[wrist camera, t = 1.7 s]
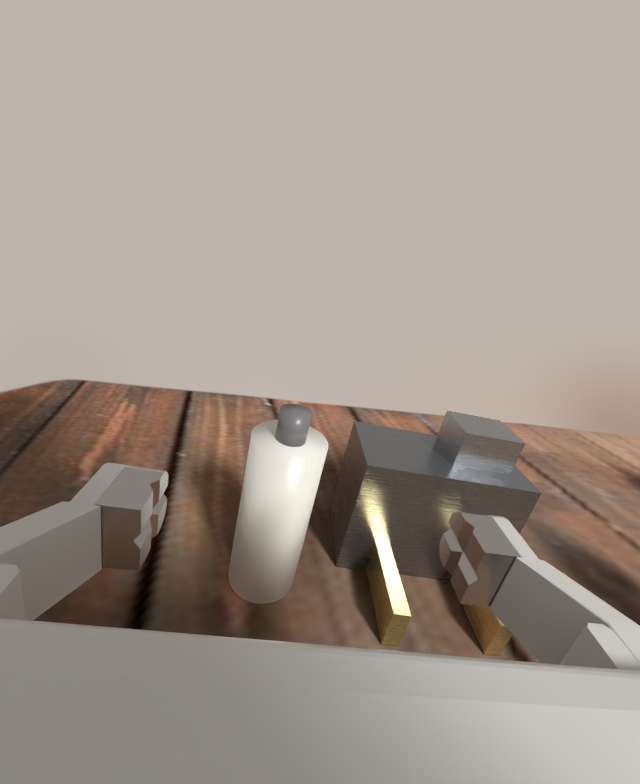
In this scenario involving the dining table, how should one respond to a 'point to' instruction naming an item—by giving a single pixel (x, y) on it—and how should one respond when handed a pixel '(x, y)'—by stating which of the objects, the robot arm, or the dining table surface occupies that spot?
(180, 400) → the dining table surface
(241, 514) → the white bottle
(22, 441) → the dining table surface
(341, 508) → the motor
